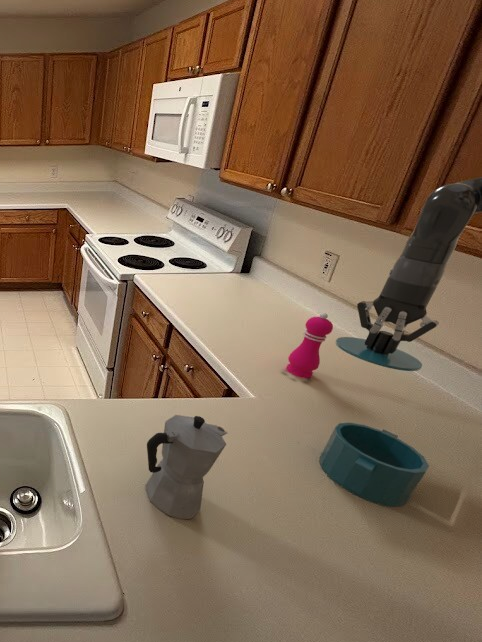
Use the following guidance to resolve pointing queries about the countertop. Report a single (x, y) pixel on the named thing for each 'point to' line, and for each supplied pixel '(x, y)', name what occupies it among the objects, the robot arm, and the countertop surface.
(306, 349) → the pepper mill
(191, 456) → the coffeepot
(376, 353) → the lid
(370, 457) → the pot
